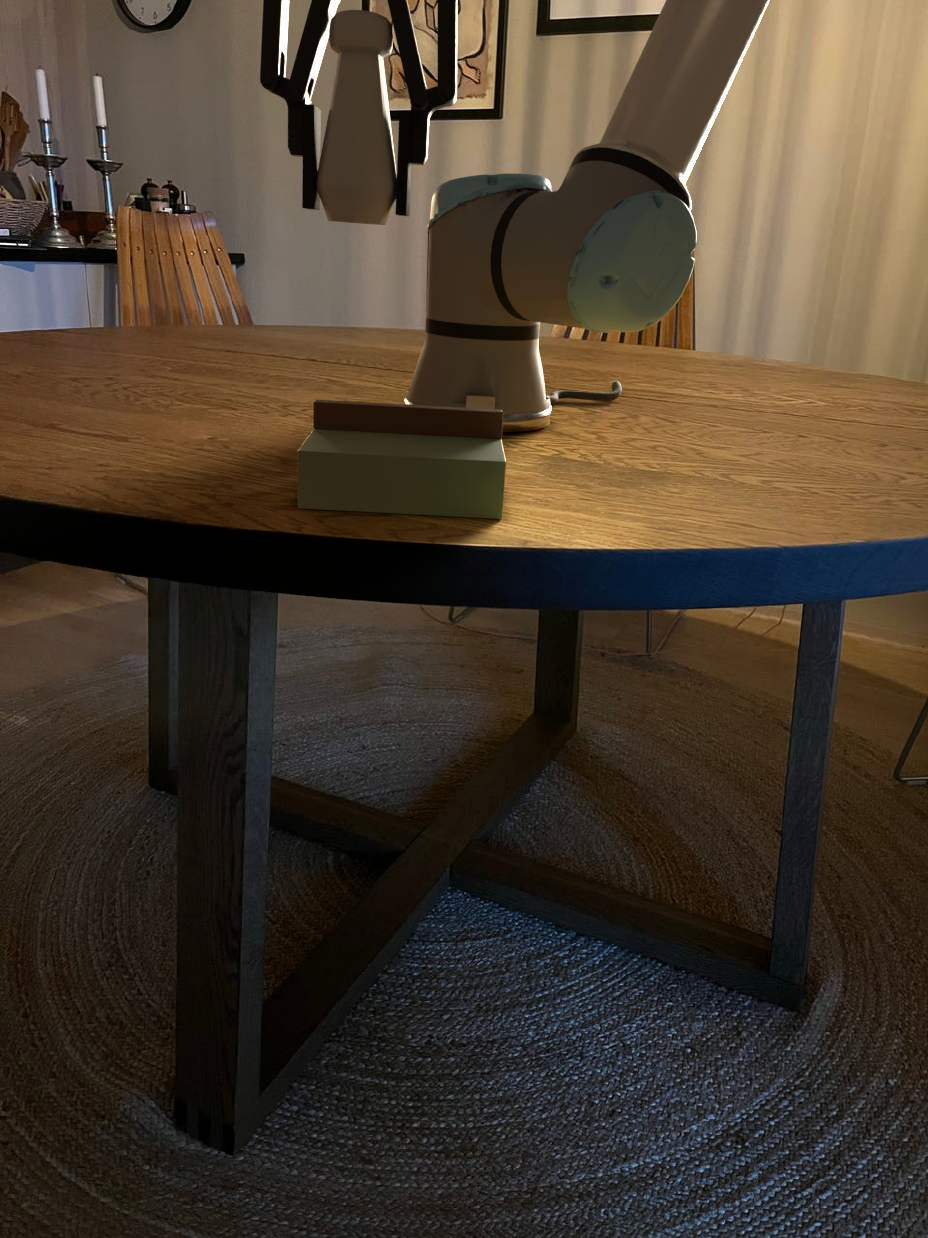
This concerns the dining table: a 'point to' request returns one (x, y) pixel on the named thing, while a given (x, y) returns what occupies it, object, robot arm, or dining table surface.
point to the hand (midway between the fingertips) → (356, 211)
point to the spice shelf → (403, 460)
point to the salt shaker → (358, 124)
